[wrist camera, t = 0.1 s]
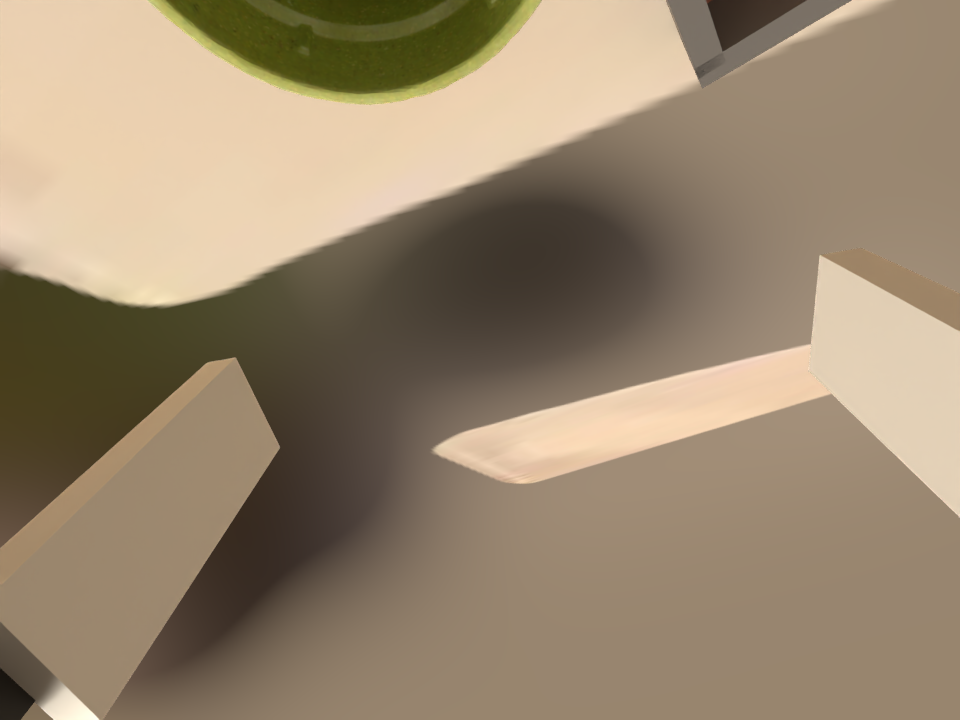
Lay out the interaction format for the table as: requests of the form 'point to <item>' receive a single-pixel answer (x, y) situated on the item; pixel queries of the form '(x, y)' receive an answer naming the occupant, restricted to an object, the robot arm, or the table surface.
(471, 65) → the plant pot
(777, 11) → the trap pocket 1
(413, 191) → the table surface
